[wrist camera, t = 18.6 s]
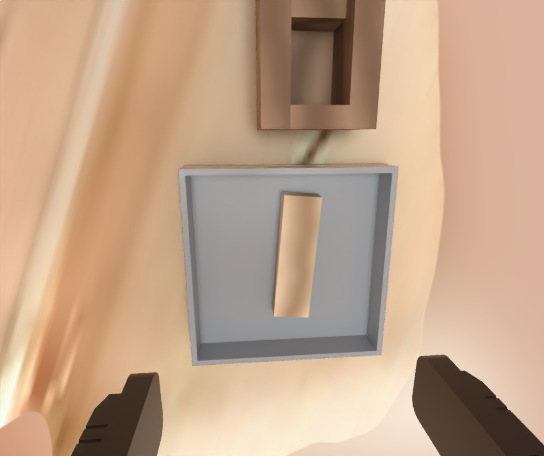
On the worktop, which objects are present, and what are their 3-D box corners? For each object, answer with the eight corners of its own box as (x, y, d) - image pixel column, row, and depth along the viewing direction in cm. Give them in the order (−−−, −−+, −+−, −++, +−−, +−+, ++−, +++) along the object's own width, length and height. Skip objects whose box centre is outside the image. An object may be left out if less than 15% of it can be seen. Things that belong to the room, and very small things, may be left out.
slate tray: (196, 345, 43) (192, 365, 39) (184, 165, 38) (178, 169, 34) (369, 336, 45) (381, 354, 41) (382, 163, 39) (398, 167, 35)
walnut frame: (257, 129, 37) (261, 129, 30) (254, -92, 32) (258, -155, 25) (351, 129, 38) (376, 128, 31) (362, -87, 33) (396, -147, 26)
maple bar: (271, 306, 42) (273, 316, 40) (281, 191, 39) (284, 195, 36) (304, 307, 43) (308, 317, 40) (317, 193, 39) (322, 197, 37)
